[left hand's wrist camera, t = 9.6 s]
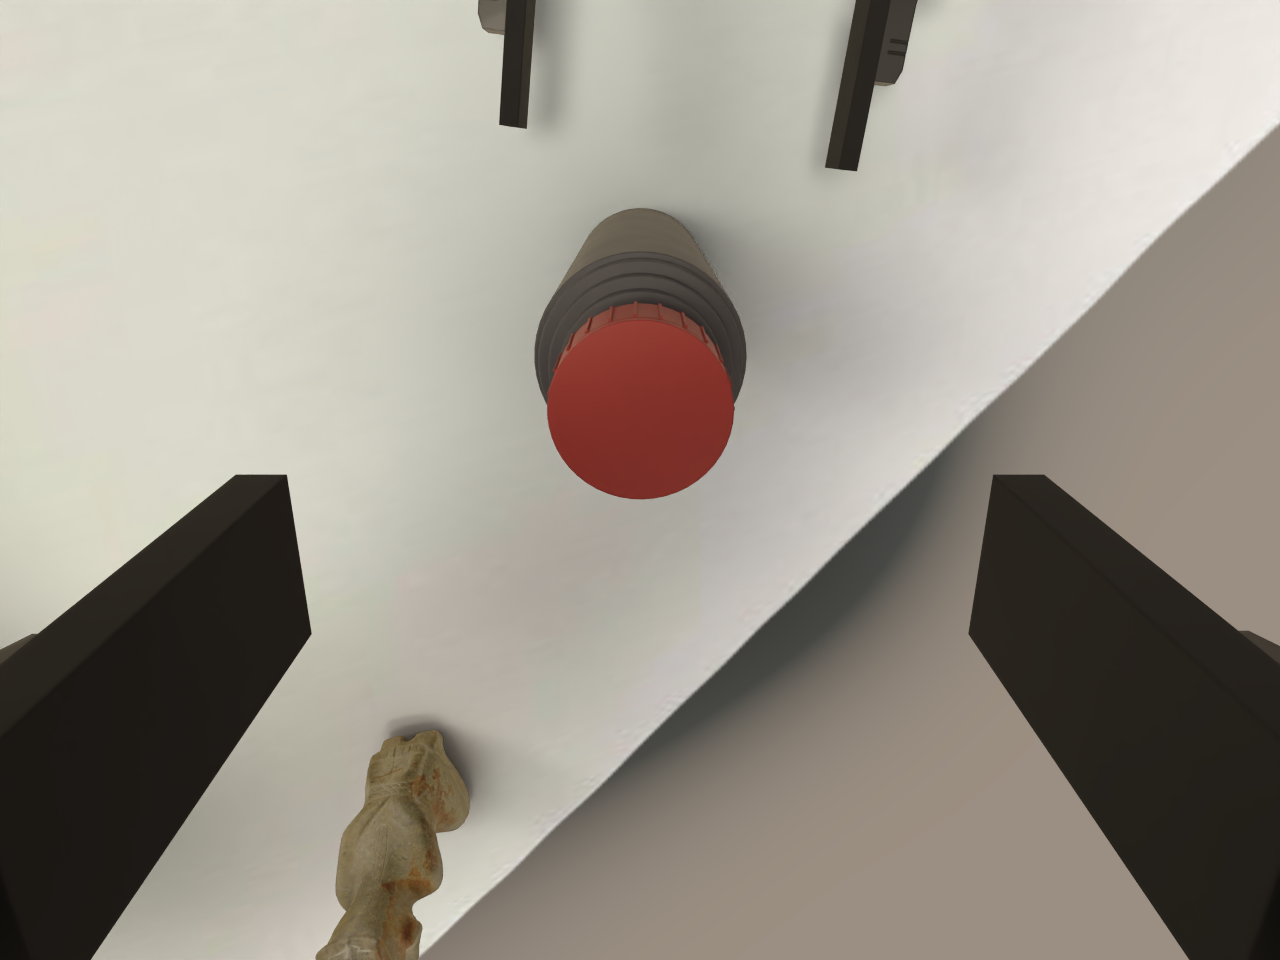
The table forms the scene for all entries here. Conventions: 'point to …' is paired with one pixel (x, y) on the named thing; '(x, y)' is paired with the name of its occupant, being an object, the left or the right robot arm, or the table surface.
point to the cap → (640, 402)
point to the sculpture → (395, 849)
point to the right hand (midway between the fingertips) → (678, 149)
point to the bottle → (640, 288)
